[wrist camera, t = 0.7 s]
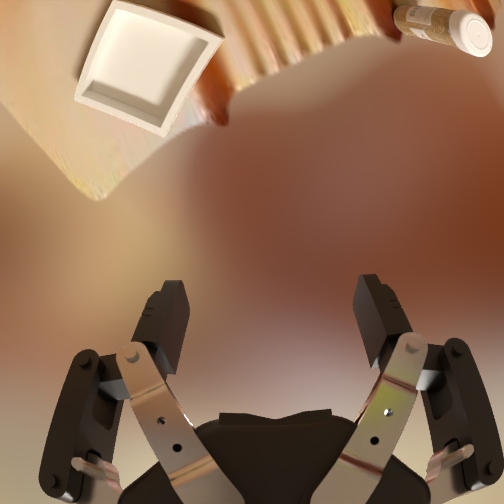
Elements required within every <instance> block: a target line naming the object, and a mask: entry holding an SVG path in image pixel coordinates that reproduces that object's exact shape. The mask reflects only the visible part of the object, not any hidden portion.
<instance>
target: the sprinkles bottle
mask: <svg viewBox="0 0 504 504" xmlns="http://www.w3.org/2000/svg"><path fill="white" fill-rule="evenodd" d="M393 17H394V23H395V25H396V26H397V28H398V29H399V30H400V31H401V32H403V33H404V34H406V35H409V36H417V37H421V38H424V39H429V40H432V41H437V42H440V43H443V44H448V45H452V46H455V47H458V48H460V49H461V50H462V51H464V52H466V53H469V54H472V55H475V56H478V57H483V56H485V55H487V54H488V53H489V52H490V50H491V47H492V35H491V31H490V29H489V27H488V25H487V23H486V22H485V20H484V19H483V18H482V17H481V16H479V15H478V14H476V13H474V12H470V11H465V10H449V9H444V8H437V7H426V6H408V5H402V6H399V7H398V8H396V10H395V11H394V15H393Z"/></svg>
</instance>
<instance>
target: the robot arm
mask: <svg viewBox="0 0 504 504" xmlns="http://www.w3.org/2000/svg"><path fill="white" fill-rule="evenodd" d="M353 310H354V314H355V317H356V320H357V323H358V327H359V329H360V333H361V336H362V339H363V343H364V346H365V350H366V353H367V356H368V360H369V363H370V367H371V368H379V369H380V372H381V373H380V374H379V376H378V378H377V381H376V382H375V384H374V386H373V388H372V390H371V392H370V394H369V396H368V398H367V400H366V402H365V404H364V406H363V407H362V409H361V411H360V412H359V414H358V415H357V417H356V419H355V420H354V422H352V421H350V420H348V419H346V418H343V417H339V416H334V415H332V411H331V409H325V410H315V411H305V412H301V413H298V414H294V415H291V416H287V417H284V418H281V419H270V418H265V417H260V416H256V415H251V414H246V413H220V415H219V419H217V420H213V421H209V422H207V423H205V424H202V425H201V426H199V427H197V428H194V426H193V424H192V423H191V422H190V420H189V419H188V417H187V416H186V414H185V413H184V412H183V410H182V408H181V406H180V405H179V403H178V401H177V400H176V398H175V396H174V395H173V393H172V391H171V390H170V388H169V386H168V384H167V382H166V378H167V374H176V370H177V366H178V362H179V357H180V353H181V348H182V345H183V340H184V336H185V332H186V328H187V324H188V320H189V315H190V308H189V302H188V299H187V295H186V292H185V288H184V284H183V282H182V280H166V281H165V282H164V284H163V287H162V289H161V291H155V292H154V293H153V294H152V295H151V297H149V298H148V300H147V303H146V305H145V309H144V310H143V312H142V316H141V318H140V320H139V322H138V325H137V327H136V330H135V332H134V335H133V337H132V340H131V342H129V343H126V344H124V345H123V346H122V347H121V348H120V349H119V350H118V352H117V353H116V354H111V355H105V356H100V357H99V355H98V354H97V353H96V352H95V351H94V350H91V349H86V350H83V351H81V352H79V353H78V354H77V355H76V356H75V357H74V359H73V361H72V364H71V366H70V369H69V371H68V374H67V377H66V380H65V382H64V385H63V388H62V391H61V393H60V397H59V399H58V403H57V405H56V409H55V412H54V415H53V419H52V422H51V425H50V429H49V432H48V436H47V440H46V444H45V448H44V452H43V457H42V461H41V466H40V472H39V483H40V486H41V488H42V490H43V491H44V492H45V493H46V494H47V495H48V496H51V497H53V498H56V499H59V500H62V501H64V502H66V503H69V504H442V503H445V502H447V501H449V500H451V499H453V498H456V497H459V496H462V495H465V494H468V493H471V492H474V491H476V490H479V489H482V488H484V487H487V486H489V485H492V484H494V483H495V482H496V481H498V479H499V478H500V477H501V475H502V473H503V470H504V457H503V452H502V447H501V442H500V438H499V433H498V430H497V426H496V422H495V418H494V415H493V412H492V408H491V405H490V402H489V399H488V395H487V393H486V390H485V387H484V384H483V381H482V379H481V376H480V373H479V371H478V368H477V366H476V363H475V361H474V359H473V356H472V354H471V351H470V349H469V347H468V345H467V344H466V343H465V342H464V341H463V340H461V339H458V338H451V339H449V340H447V342H446V343H445V345H444V346H442V345H434V344H428V343H427V342H426V340H425V339H424V338H423V337H422V336H420V335H419V334H417V333H413V330H412V328H411V326H410V324H409V322H408V319H407V317H406V315H405V313H404V311H403V309H402V308H401V305H400V303H399V301H398V299H397V297H396V295H395V293H394V291H393V290H392V289H391V288H390V287H389V286H388V285H387V284H381V282H380V280H379V278H378V276H377V275H376V274H365V275H360V276H359V278H358V283H357V287H356V291H355V295H354V299H353ZM418 390H420V391H421V395H422V399H423V403H424V407H425V412H426V416H427V420H428V425H429V430H430V435H431V440H432V446H433V452H434V454H433V456H432V457H431V458H430V460H429V462H428V467H427V470H426V471H427V476H426V478H425V480H424V479H423V478H422V477H420V476H419V475H418V474H417V473H415V472H414V471H413V470H411V469H410V468H409V467H407V466H406V465H405V464H404V463H403V462H401V461H400V460H399V459H398V458H397V457H395V456H394V455H393V454H392V452H393V450H394V448H395V446H396V444H397V442H398V440H399V438H400V436H401V434H402V431H403V429H404V427H405V425H406V422H407V420H408V418H409V415H410V413H411V410H412V408H413V405H414V403H415V400H416V397H417V394H418ZM130 398H131V399H130ZM124 399H130V404H131V407H132V409H133V411H134V414H135V415H136V418H137V420H138V422H139V424H140V426H141V428H142V430H143V432H144V434H145V436H146V438H147V440H148V442H149V444H150V446H151V447H152V449H153V451H154V453H155V455H156V457H157V458H158V460H159V461H158V462H157V463H156V464H155V465H153V466H152V467H151V468H150V469H149V470H147V471H146V472H145V473H144V474H143V475H142V476H140V477H139V478H138V479H137V480H135V481H134V482H133V483H132V484H130V485H129V486H128V487H127V488H125V489H124V490H122V488H121V486H120V482H119V480H120V479H119V473H118V471H117V469H116V468H115V467H114V465H112V459H113V453H114V447H115V442H116V436H117V431H118V426H119V421H120V416H121V412H122V407H123V403H124Z"/></svg>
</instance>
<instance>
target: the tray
mask: <svg viewBox="0 0 504 504" xmlns="http://www.w3.org/2000/svg"><path fill="white" fill-rule="evenodd" d="M224 39H225V38H224V37H222V36H220V35H218V34H216V33H214V32H212V31H209V30H207V29H205V28H203V27H200V26H198V25H196V24H193V23H191V22H189V21H186V20H184V19H181V18H178V17H176V16H173V15H170V14H168V13H165V12H162V11H159V10H156V9H153V8H150V7H147V6H143V5H140V4H136V3H133V2H129V1H125V0H113V1H112V3H111V5H110V7H109V9H108V11H107V13H106V15H105V17H104V19H103V21H102V23H101V25H100V27H99V29H98V32H97V34H96V36H95V39H94V41H93V43H92V46H91V48H90V51H89V53H88V56H87V59H86V62H85V64H84V67H83V70H82V73H81V76H80V79H79V82H78V86H77V89H76V92H75V96H74V99H73V100H74V101H77V102H79V103H82V104H85V105H87V106H90V107H93V108H95V109H98V110H100V111H103V112H105V113H108V114H110V115H113V116H115V117H118V118H120V119H123V120H125V121H127V122H130V123H132V124H135V125H137V126H139V127H141V128H144V129H146V130H148V131H151V132H153V133H155V134H157V135H160V136H162V137H164V138H165V136H166V135H167V133H168V132H169V130H170V129H171V127H172V125H173V123H174V121H175V119H176V117H177V115H178V113H179V112H180V110H181V108H182V106H183V104H184V102H185V101H186V99H187V97H188V95H189V94H190V92H191V90H192V88H193V87H194V85H195V83H196V82H197V80H198V78H199V77H200V75H201V74H202V72H203V70H204V69H205V67H206V66H207V64H208V63H209V61H210V59H211V58H212V56H213V55H214V53H215V52H216V50H217V49H218V47H219V46H220V45H221V43H222V42H223V40H224Z"/></svg>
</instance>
